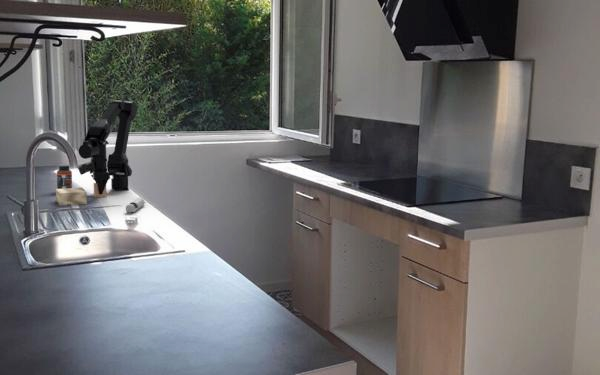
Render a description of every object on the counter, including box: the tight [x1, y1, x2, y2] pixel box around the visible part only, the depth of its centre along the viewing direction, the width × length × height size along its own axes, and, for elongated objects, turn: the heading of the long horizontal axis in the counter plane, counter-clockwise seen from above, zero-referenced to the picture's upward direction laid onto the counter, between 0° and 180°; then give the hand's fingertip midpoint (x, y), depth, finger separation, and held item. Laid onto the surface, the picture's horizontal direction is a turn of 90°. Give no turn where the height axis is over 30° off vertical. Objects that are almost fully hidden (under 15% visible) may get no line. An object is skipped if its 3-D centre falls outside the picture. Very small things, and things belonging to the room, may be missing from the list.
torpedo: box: [125, 197, 147, 214], centre depth 241 cm, size 18×5×7 cm, turn 178°
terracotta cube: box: [93, 182, 107, 198], centre depth 265 cm, size 4×4×5 cm
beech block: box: [55, 187, 88, 206], centre depth 250 cm, size 10×10×5 cm
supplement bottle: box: [56, 164, 73, 189], centre depth 271 cm, size 6×6×11 cm
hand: (100, 193), depth 265 cm, fingers closed on terracotta cube, 4 cm apart
